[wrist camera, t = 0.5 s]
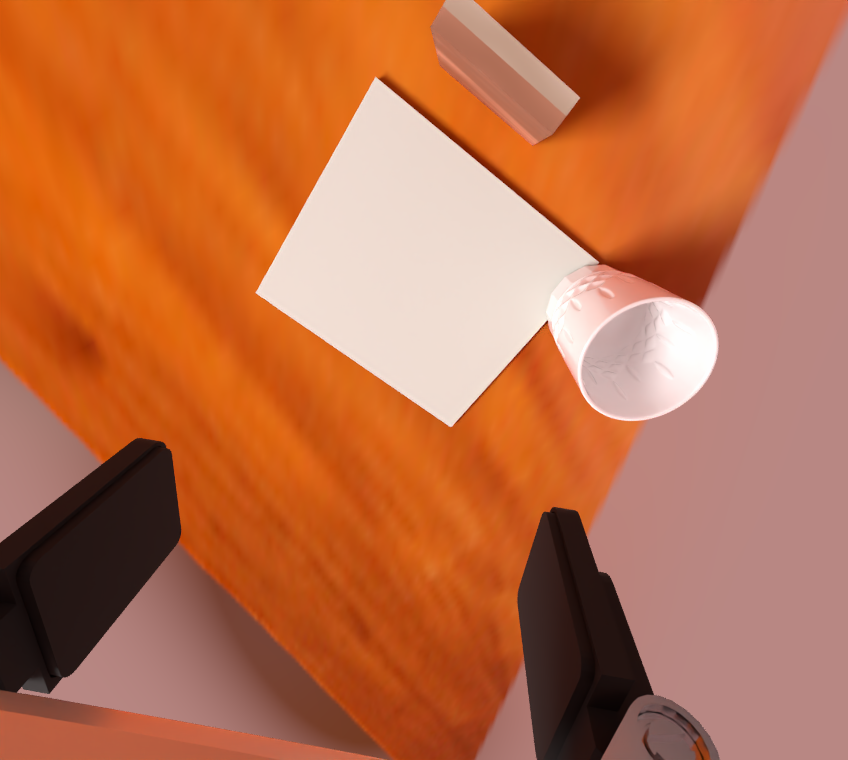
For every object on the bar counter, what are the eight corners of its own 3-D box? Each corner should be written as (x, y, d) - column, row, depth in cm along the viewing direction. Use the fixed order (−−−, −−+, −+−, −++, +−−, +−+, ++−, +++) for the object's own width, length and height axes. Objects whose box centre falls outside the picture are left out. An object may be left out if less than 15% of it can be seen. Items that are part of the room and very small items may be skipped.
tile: (458, 34, 28) (455, -16, 21) (552, 118, 30) (580, 97, 22) (439, 65, 29) (430, 26, 22) (532, 145, 30) (552, 134, 23)
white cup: (554, 248, 32) (604, 287, 23) (657, 263, 33) (744, 307, 24) (527, 347, 36) (561, 413, 27) (620, 359, 36) (684, 428, 27)
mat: (377, 78, 30) (375, 76, 29) (597, 261, 33) (599, 262, 33) (258, 291, 36) (255, 293, 36) (451, 424, 40) (450, 427, 39)
